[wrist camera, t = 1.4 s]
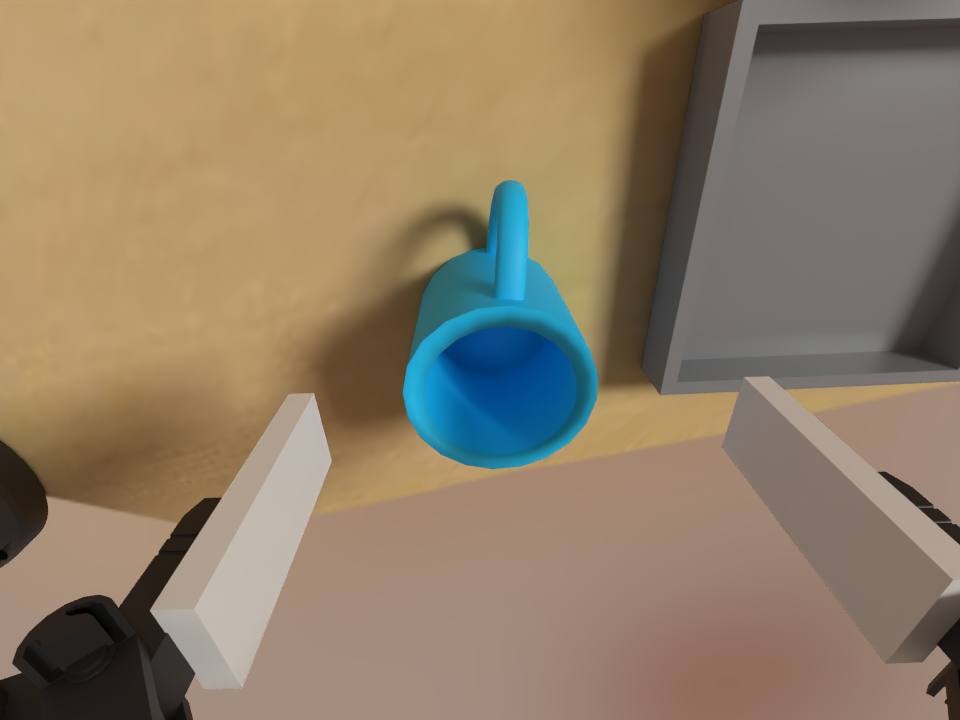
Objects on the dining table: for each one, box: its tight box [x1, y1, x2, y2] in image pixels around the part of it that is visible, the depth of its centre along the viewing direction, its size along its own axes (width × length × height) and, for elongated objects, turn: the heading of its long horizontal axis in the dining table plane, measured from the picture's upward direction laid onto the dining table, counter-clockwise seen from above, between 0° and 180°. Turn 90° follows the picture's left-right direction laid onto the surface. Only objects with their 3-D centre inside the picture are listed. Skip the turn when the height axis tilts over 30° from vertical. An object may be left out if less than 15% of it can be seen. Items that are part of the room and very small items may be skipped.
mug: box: [403, 180, 598, 469], centre depth 21 cm, size 12×8×8 cm
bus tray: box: [641, 0, 960, 395], centre depth 22 cm, size 18×18×3 cm
